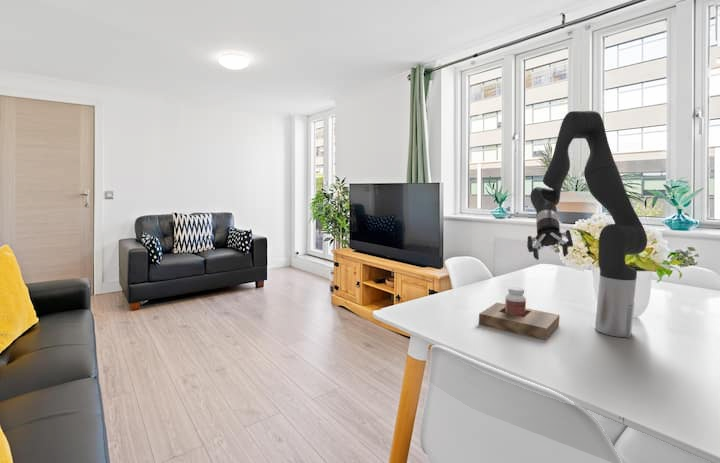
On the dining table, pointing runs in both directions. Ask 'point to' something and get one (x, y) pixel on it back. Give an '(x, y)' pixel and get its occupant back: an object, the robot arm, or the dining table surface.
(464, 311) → the dining table surface
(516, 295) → the pill bottle
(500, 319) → the socket block
